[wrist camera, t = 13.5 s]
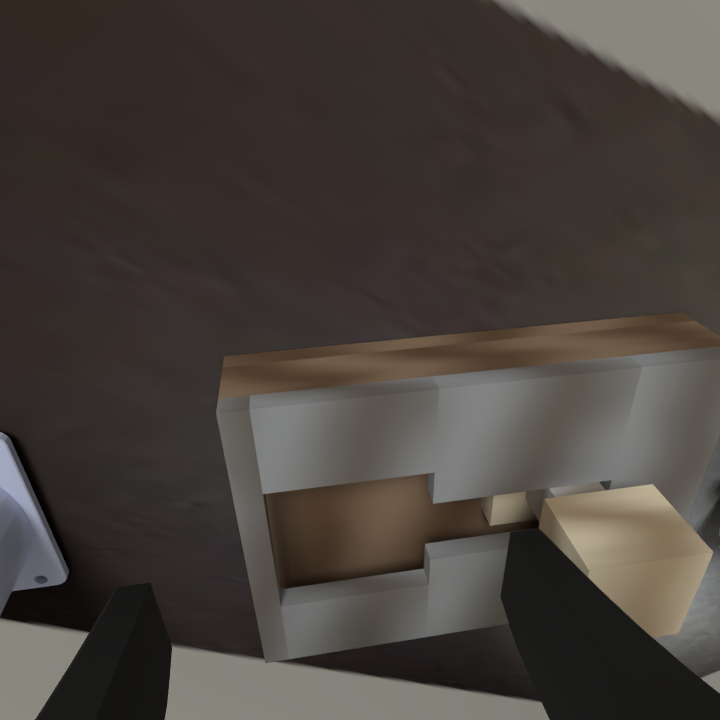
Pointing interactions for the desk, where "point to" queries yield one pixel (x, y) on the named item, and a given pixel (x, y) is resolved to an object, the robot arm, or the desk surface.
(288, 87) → the desk surface
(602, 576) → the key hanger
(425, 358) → the keyhole base
